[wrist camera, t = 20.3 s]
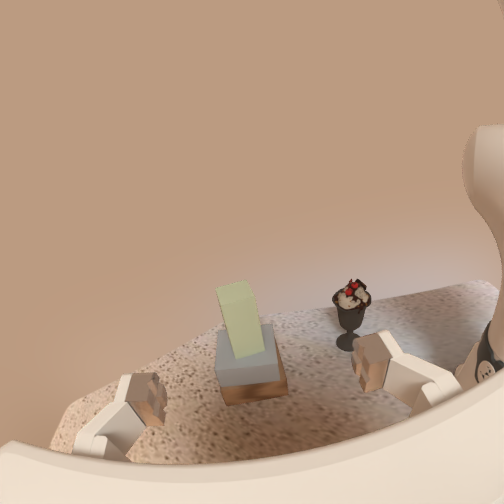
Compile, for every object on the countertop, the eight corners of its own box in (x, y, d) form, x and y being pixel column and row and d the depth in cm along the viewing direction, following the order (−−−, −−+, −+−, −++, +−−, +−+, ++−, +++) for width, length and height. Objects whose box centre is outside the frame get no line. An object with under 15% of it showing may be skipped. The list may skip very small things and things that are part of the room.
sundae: (339, 359, 47) (342, 288, 41) (327, 335, 53) (325, 267, 47) (372, 348, 47) (380, 278, 41) (357, 327, 53) (361, 259, 47)
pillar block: (256, 332, 45) (246, 279, 41) (265, 350, 41) (254, 295, 37) (229, 340, 45) (215, 288, 40) (235, 359, 41) (220, 305, 36)
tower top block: (275, 341, 49) (272, 323, 47) (280, 380, 40) (277, 363, 39) (223, 347, 49) (218, 330, 47) (220, 387, 41) (214, 370, 39)
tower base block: (277, 354, 51) (274, 337, 49) (288, 395, 42) (286, 379, 40) (223, 364, 51) (218, 347, 49) (227, 407, 42) (220, 391, 40)
